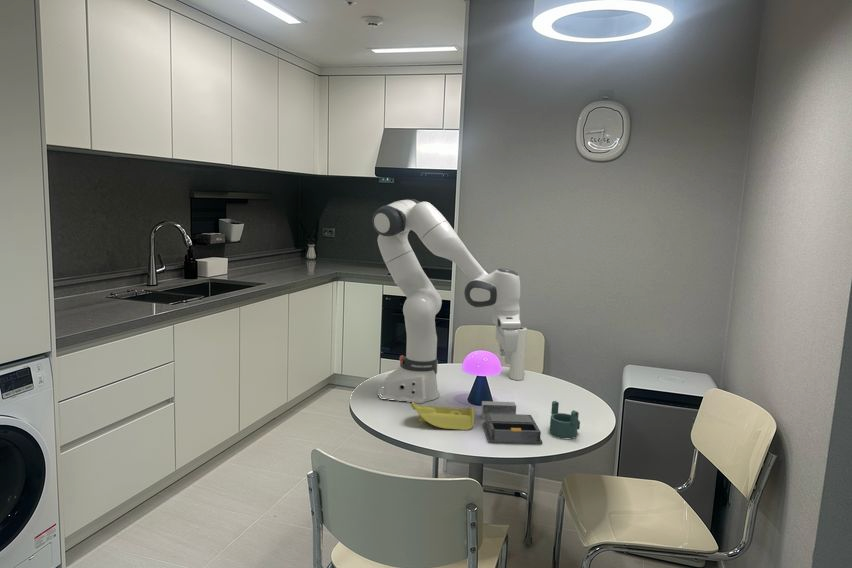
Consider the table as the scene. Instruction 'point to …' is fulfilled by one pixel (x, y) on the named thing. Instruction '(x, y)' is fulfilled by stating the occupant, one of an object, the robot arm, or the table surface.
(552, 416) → the bracket
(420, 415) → the plastic component
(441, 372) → the table surface
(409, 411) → the table surface
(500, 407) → the gray metallic block
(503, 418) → the grey flat box
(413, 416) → the table surface
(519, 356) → the paper towel roll
